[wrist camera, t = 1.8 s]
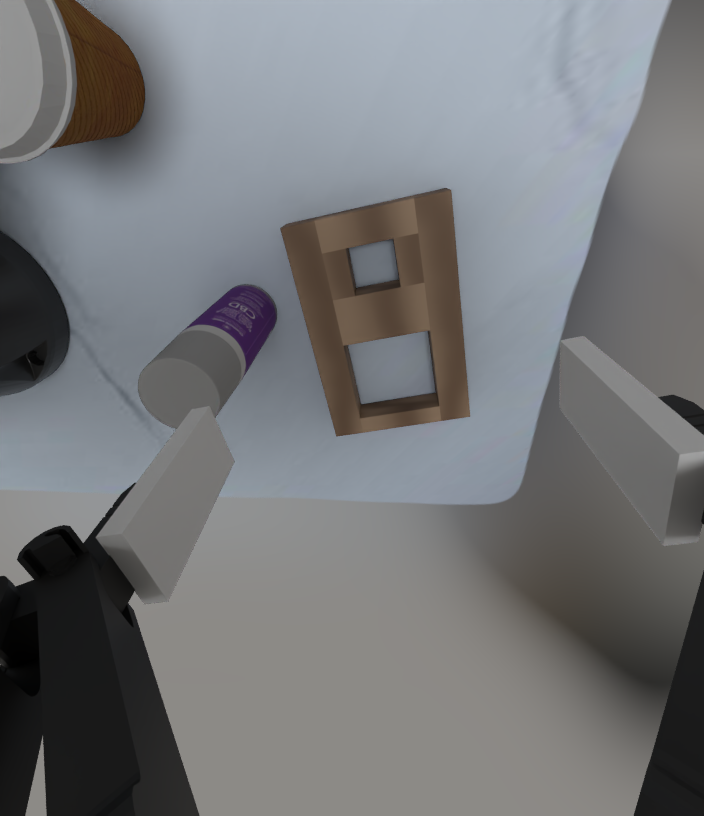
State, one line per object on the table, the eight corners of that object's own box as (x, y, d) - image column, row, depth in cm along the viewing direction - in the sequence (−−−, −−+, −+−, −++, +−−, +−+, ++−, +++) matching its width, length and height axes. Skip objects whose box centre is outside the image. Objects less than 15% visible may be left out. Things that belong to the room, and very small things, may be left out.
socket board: (338, 421, 41) (336, 436, 39) (286, 223, 32) (280, 228, 30) (464, 402, 39) (470, 416, 37) (445, 188, 31) (451, 190, 28)
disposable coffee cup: (27, 134, 30) (-155, 119, 20) (20, -44, 26) (-223, -187, 15) (161, 184, 31) (56, 194, 21) (178, 22, 27) (52, -68, 16)
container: (277, 286, 35) (218, 360, 22) (277, 340, 37) (225, 436, 24) (220, 281, 35) (127, 351, 22) (224, 335, 37) (143, 428, 24)
